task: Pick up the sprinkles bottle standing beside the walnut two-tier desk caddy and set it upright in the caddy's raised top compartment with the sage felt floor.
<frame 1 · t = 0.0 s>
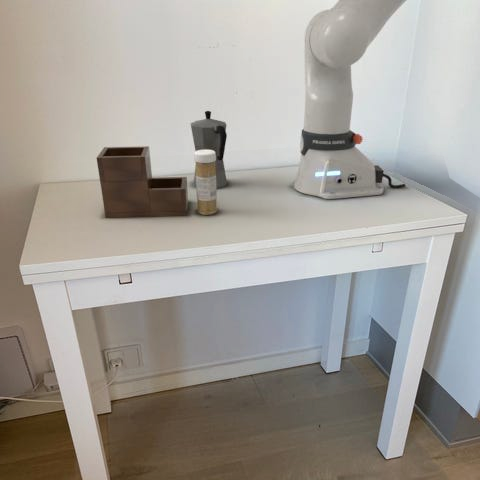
caddy: (148, 209, 114), on the table
coffeepot: (212, 185, 130), on the table
sprinkles bottle: (207, 213, 112), on the table
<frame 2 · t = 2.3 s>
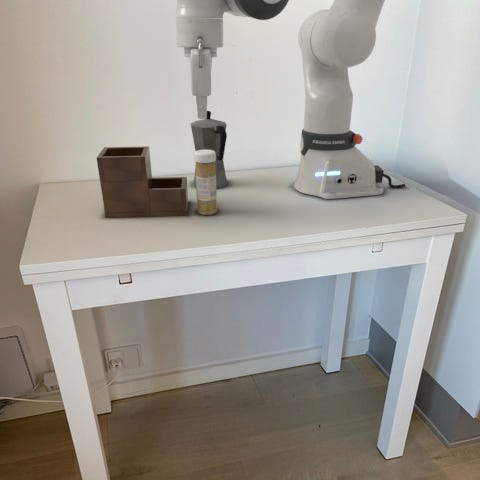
hand: (202, 114, 101), 21 cm above the table, tool pointing down, fingers open, 8 cm apart
nothing on the table moved.
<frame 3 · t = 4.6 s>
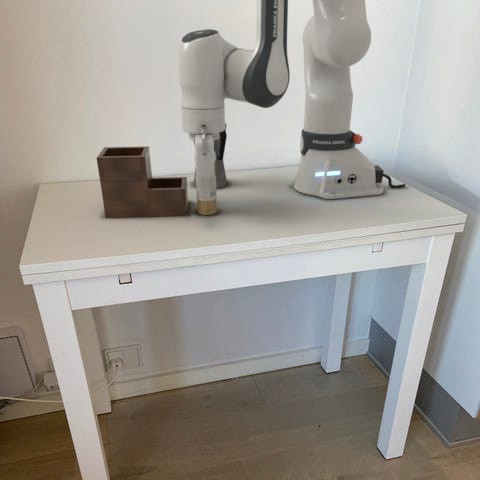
hand: (206, 187, 109), 6 cm above the table, tool pointing down, fingers closed on sprinkles bottle, 4 cm apart
sprinkles bottle: (207, 213, 112), on the table, touching gripper
everything else where it was.
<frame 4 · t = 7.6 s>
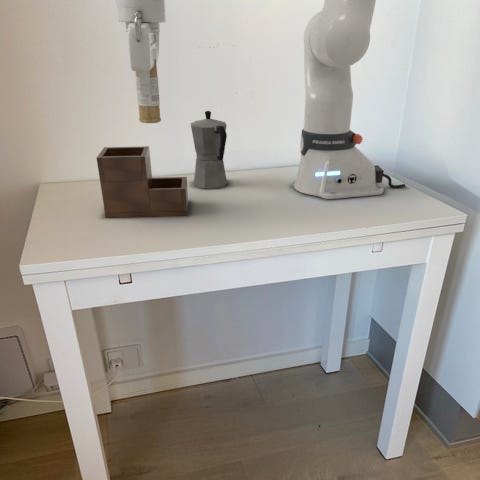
hand: (147, 92, 100), 25 cm above the table, tool pointing down, fingers closed on sprinkles bottle, 4 cm apart
sprinkles bottle: (150, 122, 103), point 19 cm above the table, touching gripper
everything else where it was.
when the fingers open (14 cm above the table, at t = 10.9 s): sprinkles bottle stays where it is, resting on caddy.
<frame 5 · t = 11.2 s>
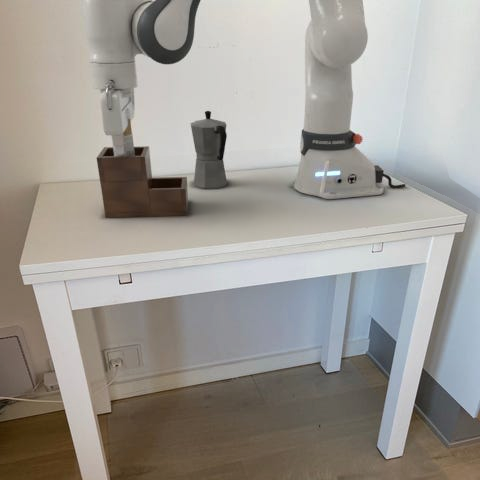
hand: (123, 149, 107), 14 cm above the table, tool pointing down, fingers open, 7 cm apart
sprinkles bottle: (126, 174, 110), point 8 cm above the table, touching caddy
everything else where it was.
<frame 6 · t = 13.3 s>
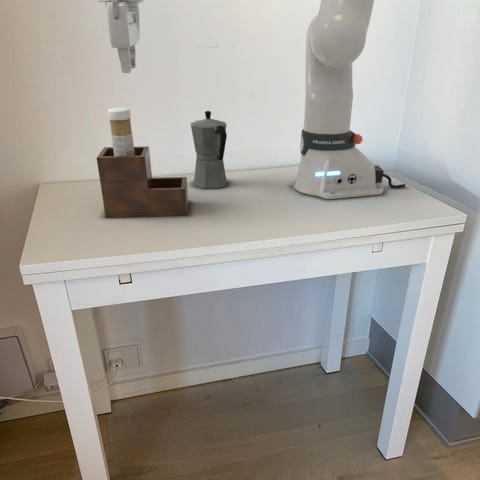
hand: (129, 70, 104), 28 cm above the table, tool pointing down, fingers open, 8 cm apart
nothing on the table moved.
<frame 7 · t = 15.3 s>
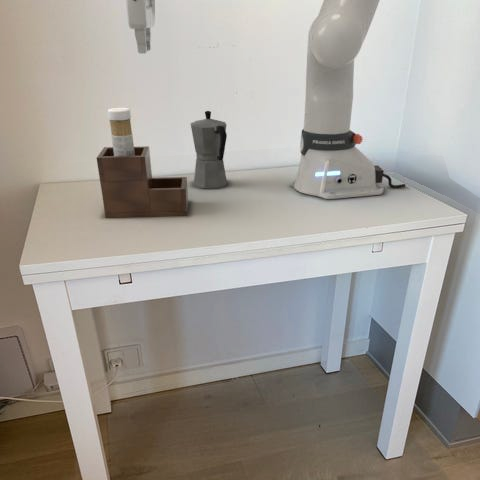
hand: (144, 51, 110), 31 cm above the table, tool pointing down, fingers open, 8 cm apart
nothing on the table moved.
at the end: sprinkles bottle 0.0 cm from the target spot on the caddy, point 8.0 cm above the caddy's base; sprinkles bottle tilted 0°; the gripper is holding nothing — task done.
